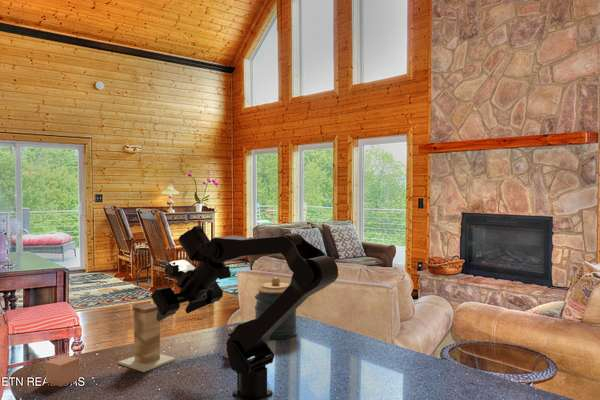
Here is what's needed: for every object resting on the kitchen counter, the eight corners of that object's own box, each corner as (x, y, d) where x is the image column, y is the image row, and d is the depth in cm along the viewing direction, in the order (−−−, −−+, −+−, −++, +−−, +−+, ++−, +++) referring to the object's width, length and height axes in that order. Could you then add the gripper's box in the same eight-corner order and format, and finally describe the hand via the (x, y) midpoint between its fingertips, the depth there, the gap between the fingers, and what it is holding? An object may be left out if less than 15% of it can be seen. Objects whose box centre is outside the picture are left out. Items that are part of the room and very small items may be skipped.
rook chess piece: (236, 359, 130) (236, 329, 130) (220, 358, 131) (220, 328, 131) (241, 353, 134) (241, 324, 134) (226, 352, 135) (225, 323, 135)
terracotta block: (79, 379, 117) (78, 358, 117) (61, 386, 113) (61, 365, 112) (64, 375, 119) (63, 355, 119) (45, 383, 115) (45, 362, 114)
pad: (175, 360, 129) (175, 358, 129) (143, 372, 121) (143, 369, 121) (150, 353, 135) (150, 350, 135) (118, 363, 127) (118, 361, 127)
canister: (279, 325, 162) (279, 272, 161) (305, 334, 152) (305, 277, 151) (246, 333, 153) (246, 276, 153) (271, 343, 143) (271, 283, 143)
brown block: (160, 358, 129) (160, 305, 128) (145, 364, 125) (145, 309, 124) (148, 355, 131) (148, 303, 131) (133, 360, 127) (133, 306, 127)
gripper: (214, 246, 127) (184, 284, 133) (156, 254, 111) (125, 297, 118) (237, 279, 122) (206, 317, 129) (180, 293, 107) (147, 335, 113)
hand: (172, 315), depth 122 cm, fingers open, 9 cm apart
